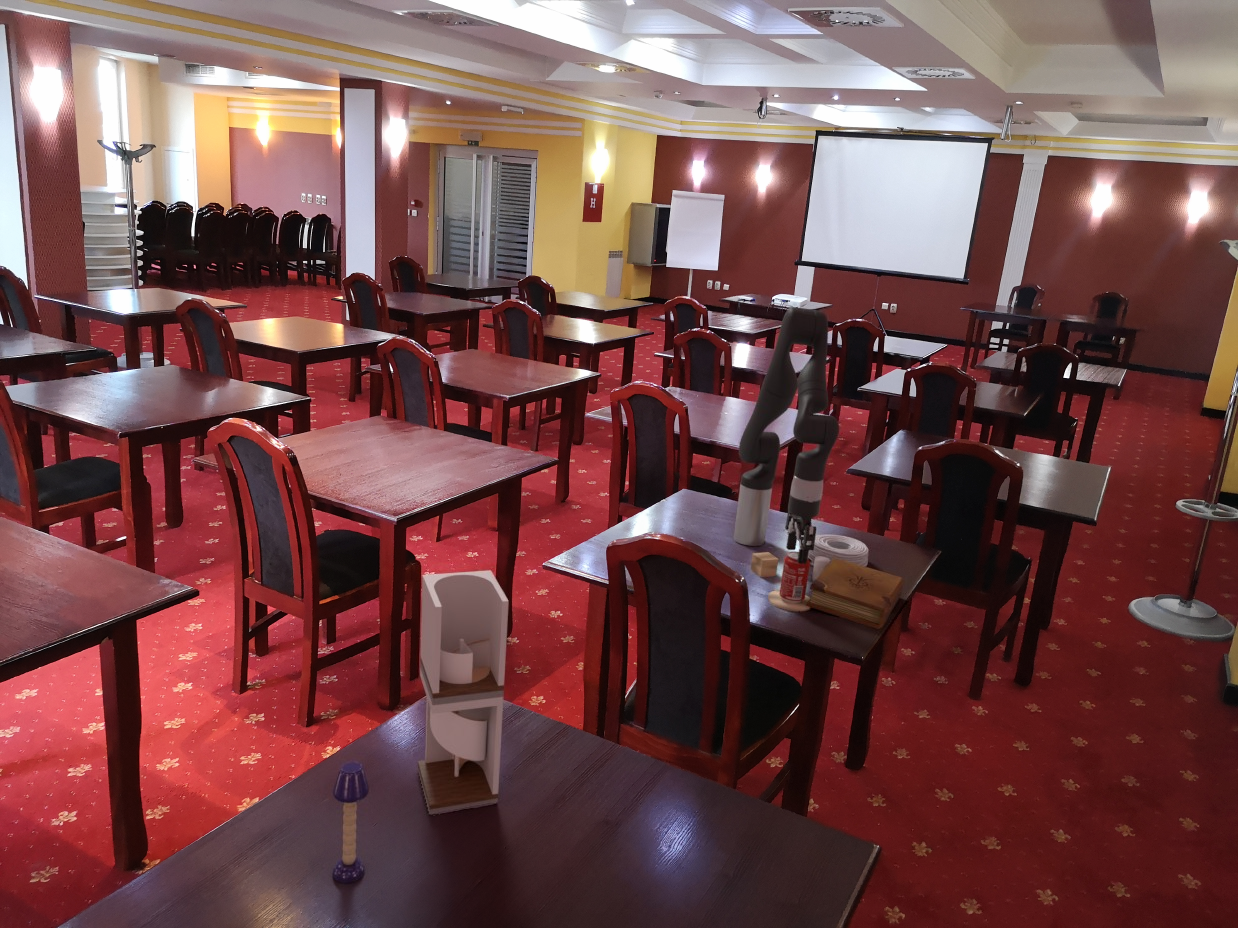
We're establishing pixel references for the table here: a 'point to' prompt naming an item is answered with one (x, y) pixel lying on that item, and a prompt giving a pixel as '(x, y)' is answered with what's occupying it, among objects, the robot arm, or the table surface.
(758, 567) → the oak block
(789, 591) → the beverage can
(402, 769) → the table surface
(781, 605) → the coaster
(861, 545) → the cable
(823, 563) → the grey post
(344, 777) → the toy lamp
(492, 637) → the display case
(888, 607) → the diary
